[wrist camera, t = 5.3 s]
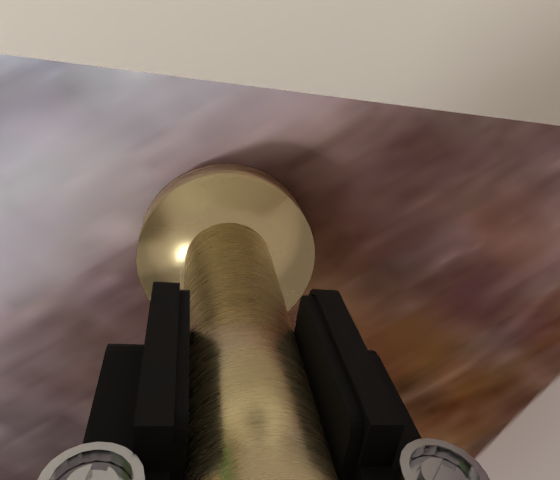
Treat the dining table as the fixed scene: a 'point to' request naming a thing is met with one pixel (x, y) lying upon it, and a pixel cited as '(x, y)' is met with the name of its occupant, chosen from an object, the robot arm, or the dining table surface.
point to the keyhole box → (317, 47)
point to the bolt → (239, 321)
